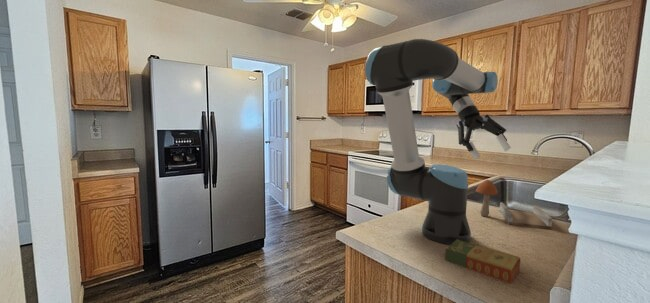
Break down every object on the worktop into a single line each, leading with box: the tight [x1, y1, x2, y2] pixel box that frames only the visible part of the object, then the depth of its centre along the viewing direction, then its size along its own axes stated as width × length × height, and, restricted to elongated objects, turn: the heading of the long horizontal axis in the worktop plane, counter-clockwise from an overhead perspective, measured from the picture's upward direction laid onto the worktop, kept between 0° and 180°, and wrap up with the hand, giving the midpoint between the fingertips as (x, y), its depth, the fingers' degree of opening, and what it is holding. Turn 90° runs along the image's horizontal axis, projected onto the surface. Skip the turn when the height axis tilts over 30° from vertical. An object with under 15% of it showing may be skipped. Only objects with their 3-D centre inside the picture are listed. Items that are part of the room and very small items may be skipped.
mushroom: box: [475, 179, 499, 217], centre depth 114 cm, size 8×8×15 cm
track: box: [498, 201, 553, 230], centre depth 110 cm, size 13×16×4 cm
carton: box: [444, 239, 521, 284], centre depth 75 cm, size 8×16×4 cm, turn 44°
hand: (493, 153), depth 109 cm, fingers open, 13 cm apart
